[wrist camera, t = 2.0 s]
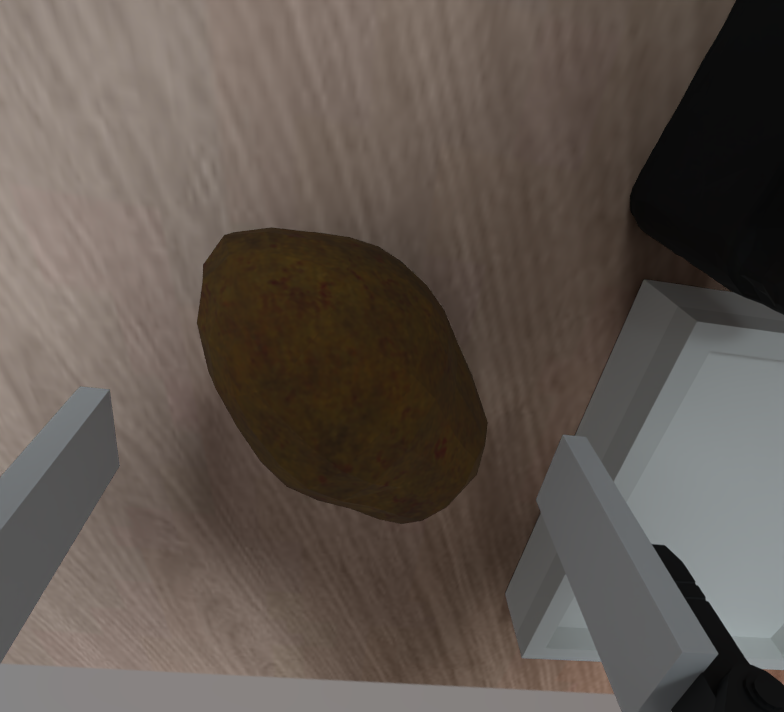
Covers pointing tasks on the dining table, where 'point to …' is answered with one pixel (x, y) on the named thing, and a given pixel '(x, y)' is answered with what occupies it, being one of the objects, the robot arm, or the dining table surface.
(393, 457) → the potato
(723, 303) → the tray
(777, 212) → the camera
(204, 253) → the dining table surface
